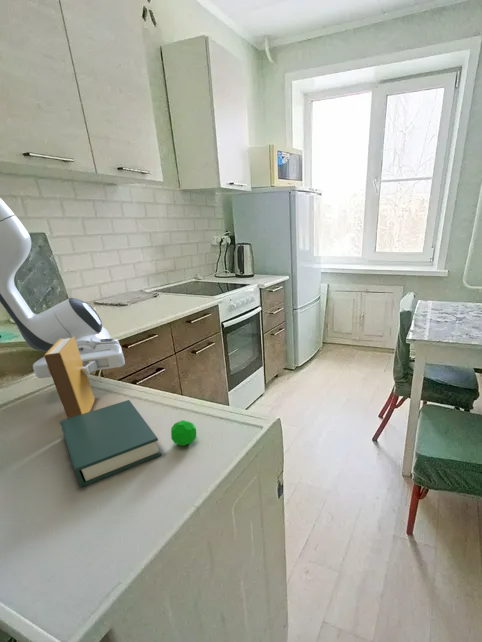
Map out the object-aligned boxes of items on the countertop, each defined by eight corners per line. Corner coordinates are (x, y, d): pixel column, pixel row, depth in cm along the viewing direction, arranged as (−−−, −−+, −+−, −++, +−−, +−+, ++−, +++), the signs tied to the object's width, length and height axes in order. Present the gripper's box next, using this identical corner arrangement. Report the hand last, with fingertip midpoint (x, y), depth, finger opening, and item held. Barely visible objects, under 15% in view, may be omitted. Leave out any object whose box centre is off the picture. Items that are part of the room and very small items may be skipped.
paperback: (82, 401, 90) (59, 338, 82) (95, 399, 90) (74, 336, 83) (70, 425, 79) (43, 355, 72) (84, 423, 80) (60, 353, 72)
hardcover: (65, 436, 75) (59, 421, 73) (133, 414, 82) (129, 399, 81) (81, 487, 61) (74, 469, 59) (161, 455, 68) (157, 437, 66)
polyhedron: (178, 453, 68) (173, 432, 66) (169, 441, 72) (164, 422, 70) (202, 443, 71) (198, 423, 69) (192, 433, 74) (188, 413, 72)
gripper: (39, 348, 91) (19, 368, 79) (123, 338, 96) (116, 355, 84) (47, 370, 94) (29, 392, 82) (129, 359, 99) (123, 378, 87)
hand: (74, 373), depth 83 cm, fingers closed on paperback, 3 cm apart
